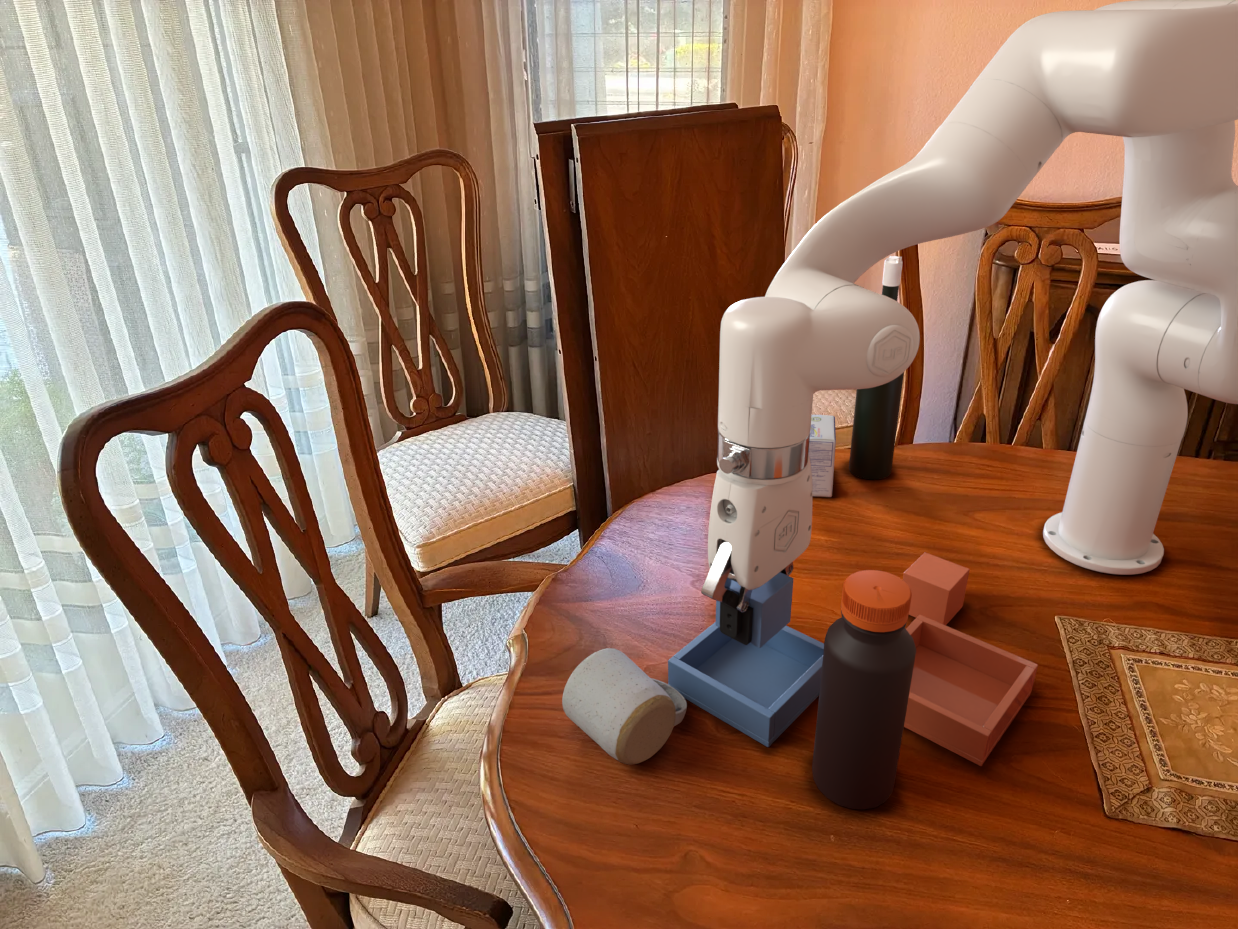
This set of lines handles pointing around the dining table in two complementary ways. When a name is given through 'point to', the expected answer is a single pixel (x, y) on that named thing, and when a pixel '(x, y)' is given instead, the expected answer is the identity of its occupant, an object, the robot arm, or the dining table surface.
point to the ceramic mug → (622, 706)
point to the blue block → (767, 607)
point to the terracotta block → (936, 588)
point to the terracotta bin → (964, 689)
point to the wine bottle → (877, 407)
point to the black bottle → (864, 691)
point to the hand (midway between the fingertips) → (753, 620)
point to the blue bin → (750, 679)
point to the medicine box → (822, 454)
